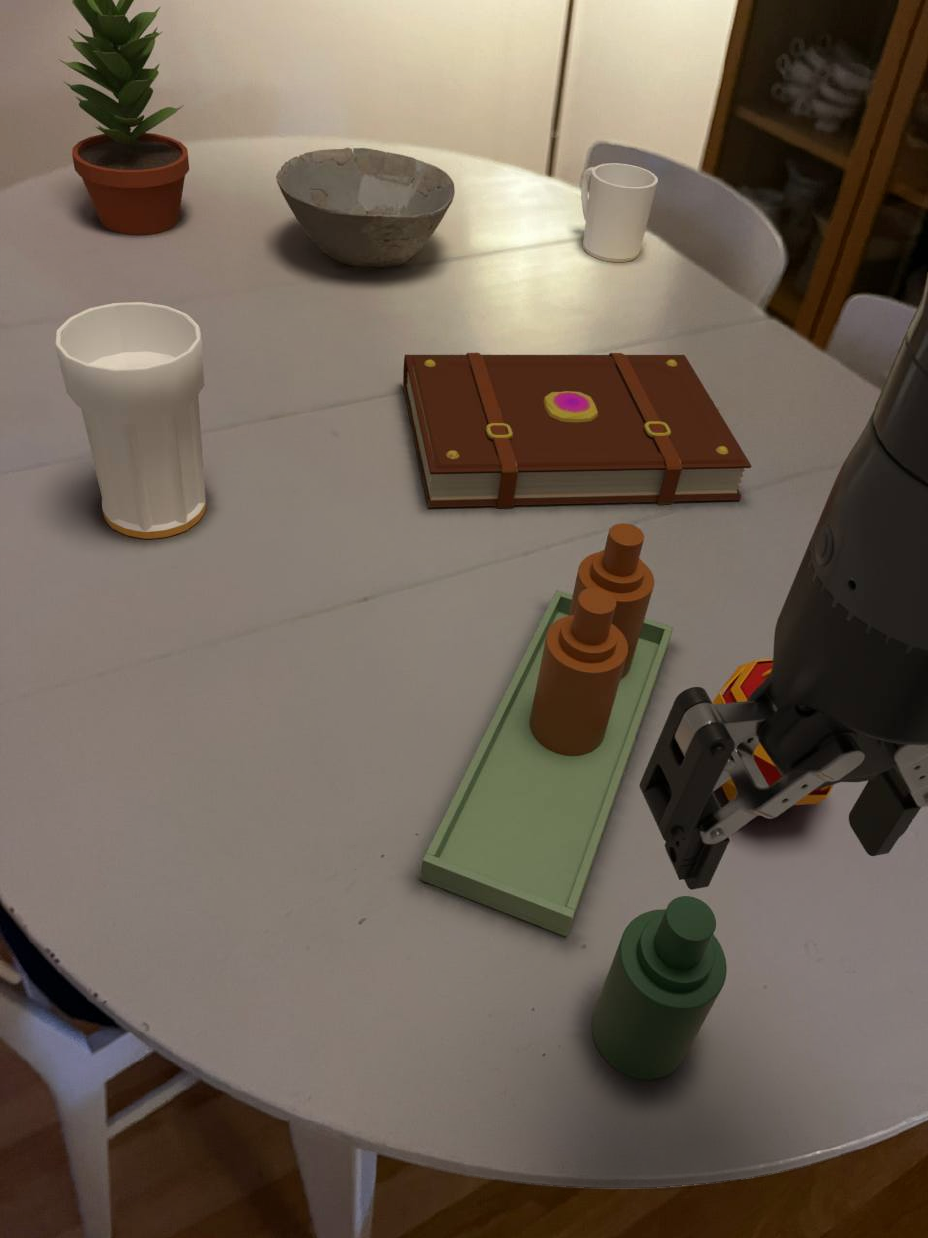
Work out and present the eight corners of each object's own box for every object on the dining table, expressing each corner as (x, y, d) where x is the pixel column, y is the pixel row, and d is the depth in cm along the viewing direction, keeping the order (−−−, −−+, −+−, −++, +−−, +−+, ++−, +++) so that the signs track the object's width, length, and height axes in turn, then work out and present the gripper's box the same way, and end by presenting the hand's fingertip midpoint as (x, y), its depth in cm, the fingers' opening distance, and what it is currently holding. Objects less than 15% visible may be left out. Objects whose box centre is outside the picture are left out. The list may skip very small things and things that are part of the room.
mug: (654, 252, 144) (670, 178, 137) (618, 269, 139) (633, 193, 132) (592, 226, 149) (604, 153, 142) (555, 242, 144) (566, 167, 137)
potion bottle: (819, 748, 79) (891, 606, 69) (828, 859, 71) (911, 719, 61) (684, 721, 80) (736, 577, 69) (680, 828, 72) (737, 684, 62)
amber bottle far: (644, 674, 82) (681, 550, 73) (581, 692, 80) (612, 566, 71) (608, 627, 86) (640, 503, 77) (548, 642, 84) (573, 517, 75)
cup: (104, 558, 88) (67, 379, 76) (79, 484, 95) (43, 310, 83) (233, 532, 92) (218, 358, 80) (200, 462, 99) (182, 293, 87)
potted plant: (214, 207, 143) (193, -44, 122) (166, 249, 132) (134, -18, 111) (115, 188, 144) (78, -62, 124) (59, 229, 134) (9, -38, 113)
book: (740, 502, 102) (754, 461, 98) (428, 510, 97) (431, 467, 93) (673, 383, 118) (683, 344, 114) (402, 384, 113) (404, 343, 109)
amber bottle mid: (619, 744, 77) (656, 618, 68) (551, 765, 75) (580, 638, 66) (582, 690, 80) (613, 564, 72) (516, 708, 78) (539, 582, 70)
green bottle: (706, 1058, 60) (770, 947, 51) (622, 1096, 58) (673, 987, 49) (655, 972, 64) (706, 855, 55) (574, 1005, 62) (614, 889, 53)
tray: (566, 937, 65) (572, 918, 64) (420, 880, 67) (422, 859, 66) (667, 647, 86) (673, 626, 84) (552, 610, 88) (556, 589, 86)
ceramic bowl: (403, 311, 125) (407, 231, 118) (245, 262, 131) (240, 183, 124) (478, 249, 140) (486, 174, 133) (333, 207, 146) (333, 134, 139)
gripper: (786, 679, 28) (659, 965, 39) (1194, 624, 32) (971, 901, 43) (681, 514, 33) (594, 808, 45) (1041, 481, 37) (877, 762, 48)
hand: (779, 853), depth 44 cm, fingers open, 8 cm apart
